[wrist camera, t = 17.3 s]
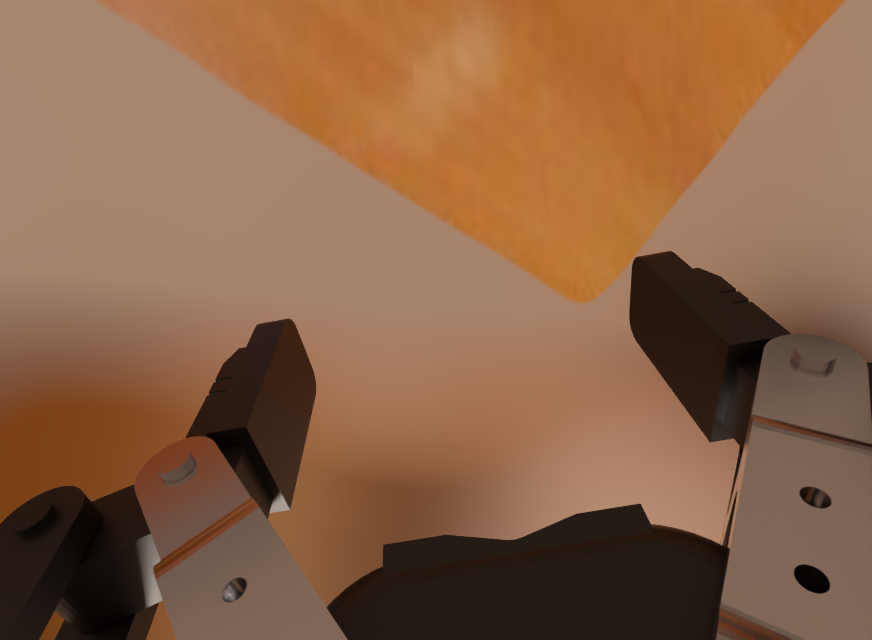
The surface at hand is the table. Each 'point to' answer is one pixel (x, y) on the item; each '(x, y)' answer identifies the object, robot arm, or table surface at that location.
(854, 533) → the robot arm
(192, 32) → the table surface
